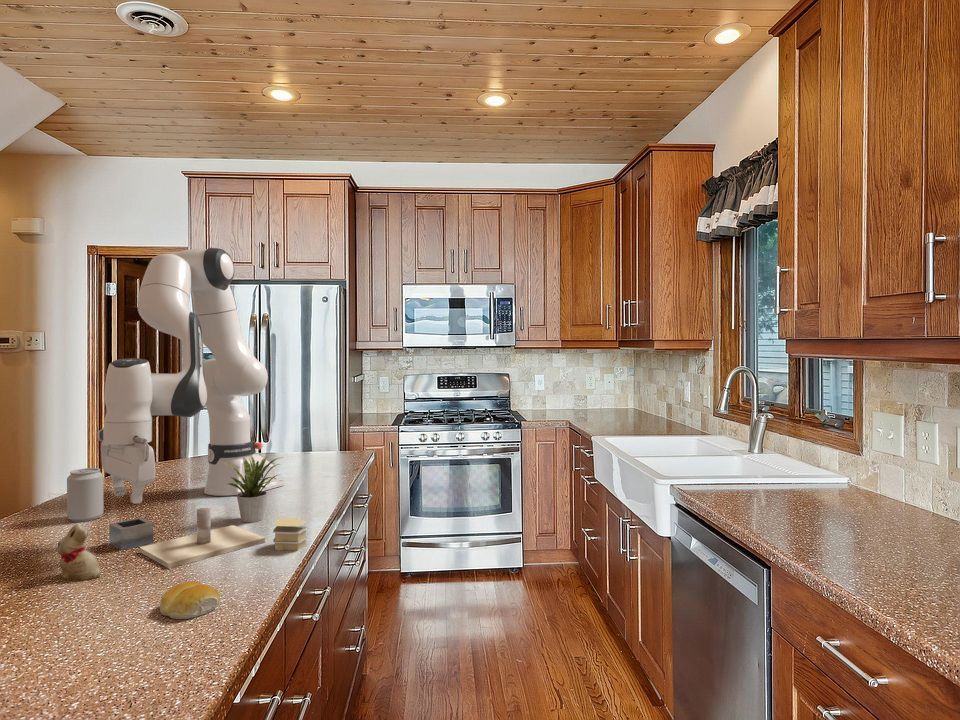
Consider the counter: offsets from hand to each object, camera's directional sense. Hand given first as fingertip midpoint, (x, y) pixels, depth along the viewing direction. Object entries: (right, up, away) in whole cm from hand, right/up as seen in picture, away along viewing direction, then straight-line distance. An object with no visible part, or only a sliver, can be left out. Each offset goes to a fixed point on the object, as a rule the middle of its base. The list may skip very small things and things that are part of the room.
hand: (127, 499), depth 126 cm
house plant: (+21, -10, +19) cm, 30 cm away
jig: (+17, -10, -1) cm, 20 cm away
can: (-22, -10, +19) cm, 31 cm away
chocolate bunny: (+1, -10, -17) cm, 20 cm away
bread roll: (+28, -11, -30) cm, 43 cm away
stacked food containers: (+35, -11, -1) cm, 36 cm away
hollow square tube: (0, -10, +1) cm, 10 cm away
